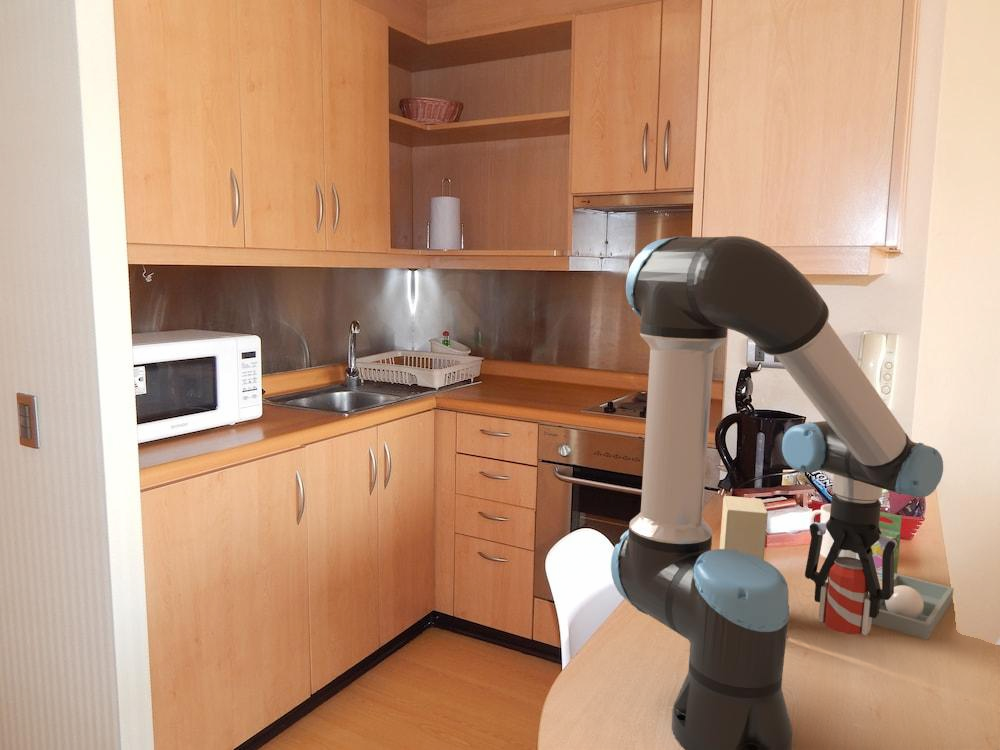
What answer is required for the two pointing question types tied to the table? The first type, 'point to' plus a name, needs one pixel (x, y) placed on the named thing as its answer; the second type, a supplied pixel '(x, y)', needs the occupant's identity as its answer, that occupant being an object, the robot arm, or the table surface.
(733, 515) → the beige tall block
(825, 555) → the mug
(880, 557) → the ink box
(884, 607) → the tray
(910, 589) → the egg
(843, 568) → the beverage can
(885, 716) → the table surface
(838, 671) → the table surface
